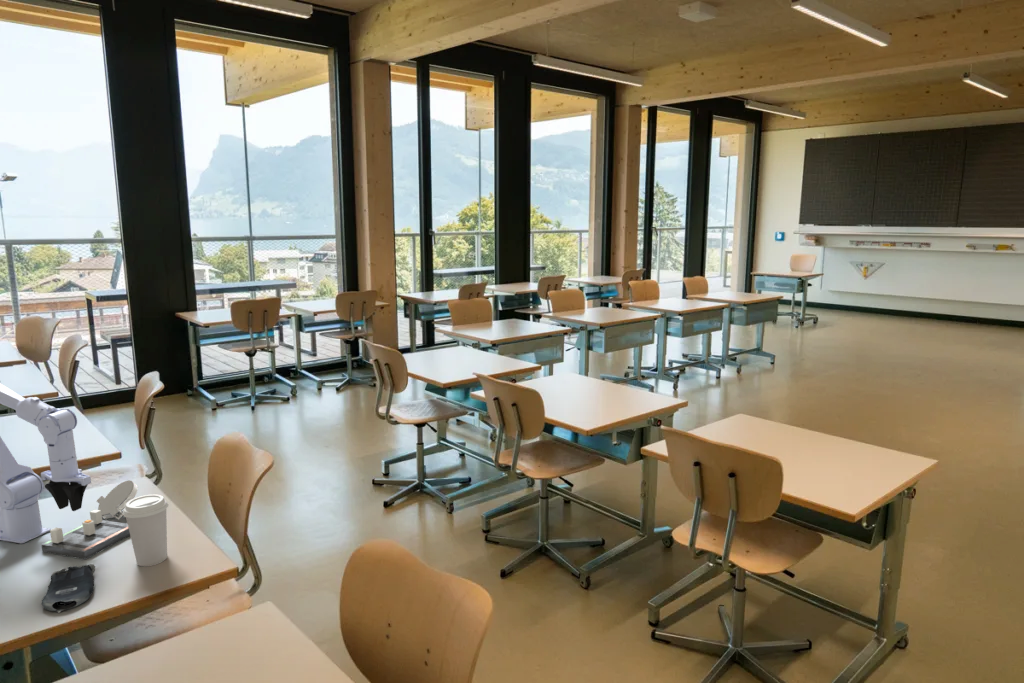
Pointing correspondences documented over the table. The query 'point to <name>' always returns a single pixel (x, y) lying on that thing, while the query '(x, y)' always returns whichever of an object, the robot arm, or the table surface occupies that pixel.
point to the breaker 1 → (56, 535)
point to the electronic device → (69, 587)
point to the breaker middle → (88, 527)
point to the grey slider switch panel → (88, 540)
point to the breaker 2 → (96, 516)
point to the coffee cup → (148, 528)
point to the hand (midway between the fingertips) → (70, 508)
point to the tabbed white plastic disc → (117, 500)
